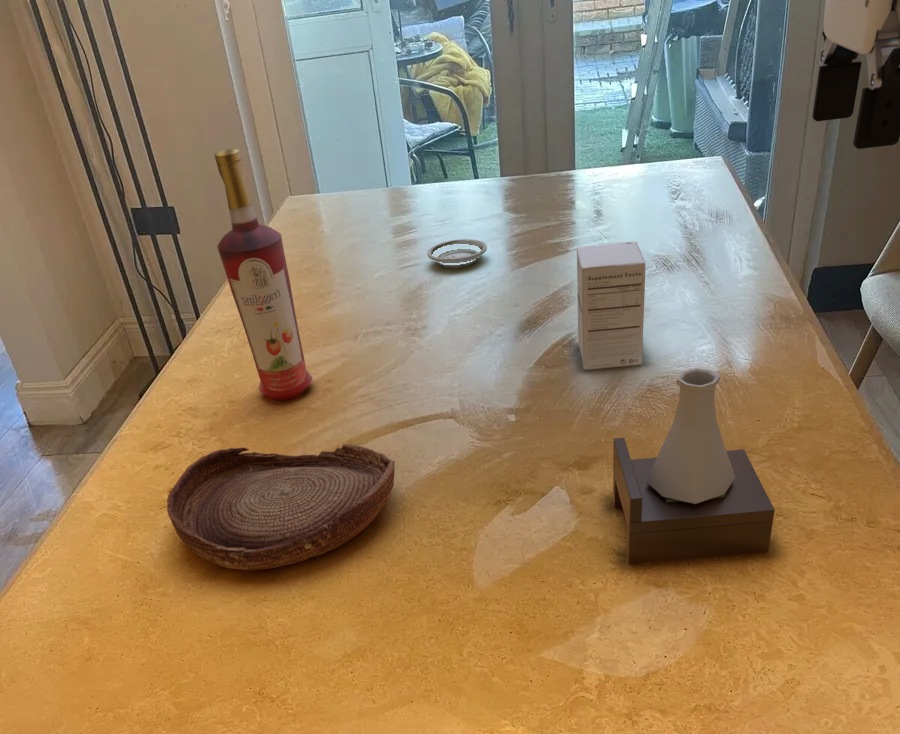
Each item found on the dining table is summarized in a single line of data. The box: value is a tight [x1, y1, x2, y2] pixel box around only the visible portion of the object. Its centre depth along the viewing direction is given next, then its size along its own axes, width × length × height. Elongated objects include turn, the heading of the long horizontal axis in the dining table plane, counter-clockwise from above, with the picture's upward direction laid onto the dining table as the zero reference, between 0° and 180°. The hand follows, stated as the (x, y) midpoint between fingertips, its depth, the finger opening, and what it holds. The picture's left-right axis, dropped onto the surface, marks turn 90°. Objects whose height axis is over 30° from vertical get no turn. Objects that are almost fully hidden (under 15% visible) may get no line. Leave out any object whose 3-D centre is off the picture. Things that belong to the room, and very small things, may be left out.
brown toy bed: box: [612, 437, 776, 565], centre depth 75 cm, size 12×10×7 cm
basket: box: [166, 443, 396, 571], centre depth 84 cm, size 22×20×5 cm
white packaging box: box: [576, 240, 646, 371], centre depth 102 cm, size 7×7×13 cm
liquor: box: [213, 148, 313, 401], centre depth 100 cm, size 7×7×28 cm
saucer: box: [426, 238, 488, 270], centre depth 137 cm, size 10×10×2 cm
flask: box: [646, 367, 735, 504], centre depth 71 cm, size 7×7×10 cm
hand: (852, 131), depth 68 cm, fingers open, 9 cm apart
